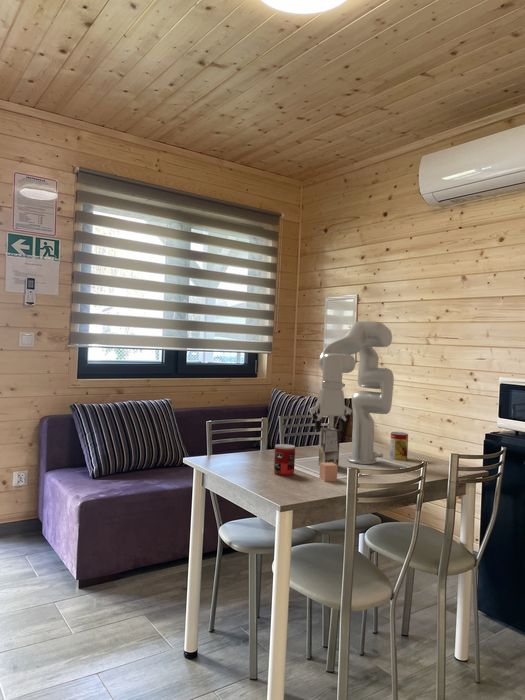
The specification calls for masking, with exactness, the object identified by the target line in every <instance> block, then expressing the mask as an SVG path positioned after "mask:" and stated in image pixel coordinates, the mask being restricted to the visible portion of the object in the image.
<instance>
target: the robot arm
mask: <svg viewBox="0 0 525 700" xmlns="http://www.w3.org/2000/svg"><path fill="white" fill-rule="evenodd" d="M392 341H393V334H392V331H391V329H390V328H389V327H388V326H386V325H385V324H383V323H382V322H380V321H376V320H375V321H373V320H372V321H368V320H367V321H365V320H361V321H359V320H358V321H355V322H353V324H351V326H350V328H349V329H348V330H347V332H346V334H345V335H344V337H343V338H340V339H337V340H335V341H334V342H331V343H330V344H328V345H327V346H326V347H325V348H324V349H323V351H322V352H321V354H320V355H319V358H318V368H319V369H320V370H321V371H322V378H321V379H322V382H321V388H320V389H319V390H318V395H317V401H316V404H315V405H314V406H312V407H310V408H309V409H308V410H309V414H310V416H311V417H312V418H313V420H314V430H315V431H316V432H319V433H320V431H321V428H322V421H321V419H322V418H323V417H339V421H338V422H339V423H338V430H339V431H340V432H345V430H346V421H347V420H348V419H349V418H350V416H351V414H352V433H351V434H352V437H351V455H350V456H348V457H347V461H348V462H350V463H354V464H359V465H374V464H376V463H377V458H383V457H384V453H382V452H376V451H374V443H375V442H374V439H375V420H374V418H373V417H372V415H371V414H379V415H387V414H389V413H390V412H391V409H392V404H393V402H392V401H393V392H394V382H395V380H394V379H395V377H394V372H393V371H392V370H391V369H390V368H385V367H379V362H380V361H379V360H380V359H379V355H378V353H377V352H376V350H375V349H374V348H387V347H389V346H390V345H391V344H392ZM357 353H358V355H359V363H358V371H357V372H358V373H357V384H358V387H360V388H363V389H371V390H372V389H373V390H380V392H379V391H369V390H358V391H355V392H354V393H353V394H352V397H351V407H352V409H351V408H350V407H348V406H347V405H345V404H346V403H345V402H346V401H345V393H344V390H343V388H345V387H346V384H345V383H344V382H343V374H349V373H352V372H353V371H354V369H355V368H356V363H357V362H356V359H355V357H354V356H353V355H354V354H357ZM345 411H346V413H345ZM315 412H316V413H315Z"/></svg>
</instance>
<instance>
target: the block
mask: <svg viewBox="0 0 525 700" xmlns="http://www.w3.org/2000/svg"><path fill="white" fill-rule="evenodd" d="M337 466H338V467H339V464H338V465H336V464H334V463H332V462H329V463H320V465H319V479H320V478H321V479H322V481H323V480H324V482H338V469H337ZM321 479H320V480H321Z"/></svg>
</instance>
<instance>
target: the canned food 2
mask: <svg viewBox="0 0 525 700" xmlns="http://www.w3.org/2000/svg"><path fill="white" fill-rule="evenodd" d="M389 441H390V443H389V444H390V447H389V459H390V460H394V461H402V462H403V461H407V460H408V447H409V446H408V445H409V433H408V432H403V431H391V432H390V440H389Z"/></svg>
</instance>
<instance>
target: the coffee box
mask: <svg viewBox="0 0 525 700" xmlns="http://www.w3.org/2000/svg"><path fill="white" fill-rule="evenodd" d="M340 434H341V431H340V430H339V429H337V428H336V427H321V431H320V432H319V439H318V440H319V442H318V443H319V444H318V465H319V466H320V463H329V462H332V463H334V464H336V465H338V466H337V470H339V463H340V462H339V461H340V441H341V440H340V438H341V435H340Z"/></svg>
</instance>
